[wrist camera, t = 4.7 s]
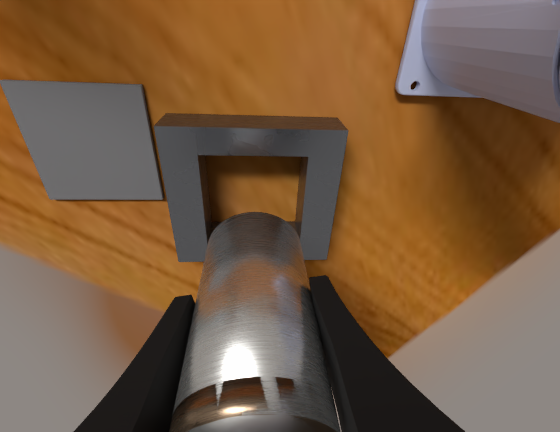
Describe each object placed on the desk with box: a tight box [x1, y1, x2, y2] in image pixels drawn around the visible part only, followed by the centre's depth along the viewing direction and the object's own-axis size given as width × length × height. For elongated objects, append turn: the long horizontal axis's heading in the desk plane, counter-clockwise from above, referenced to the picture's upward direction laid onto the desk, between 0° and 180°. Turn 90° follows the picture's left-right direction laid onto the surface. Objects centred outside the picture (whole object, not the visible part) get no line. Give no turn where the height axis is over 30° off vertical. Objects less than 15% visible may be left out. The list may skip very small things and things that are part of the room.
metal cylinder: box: [169, 212, 340, 432], centre depth 11 cm, size 4×4×8 cm
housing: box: [154, 113, 348, 262], centre depth 19 cm, size 10×9×2 cm
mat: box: [0, 80, 164, 200], centre depth 18 cm, size 7×7×1 cm
